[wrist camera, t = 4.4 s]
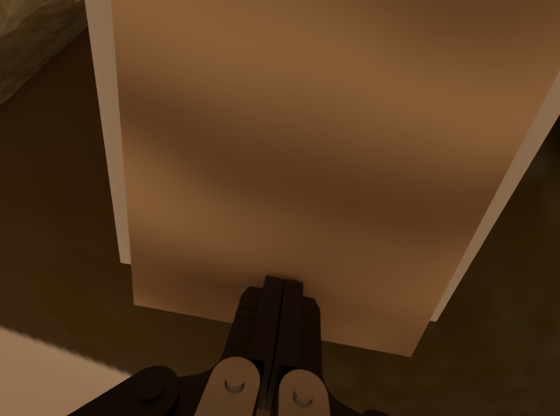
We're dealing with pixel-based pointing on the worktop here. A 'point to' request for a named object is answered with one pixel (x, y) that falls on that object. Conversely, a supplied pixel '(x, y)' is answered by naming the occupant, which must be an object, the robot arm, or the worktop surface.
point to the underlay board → (107, 90)
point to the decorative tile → (34, 37)
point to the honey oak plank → (321, 148)
